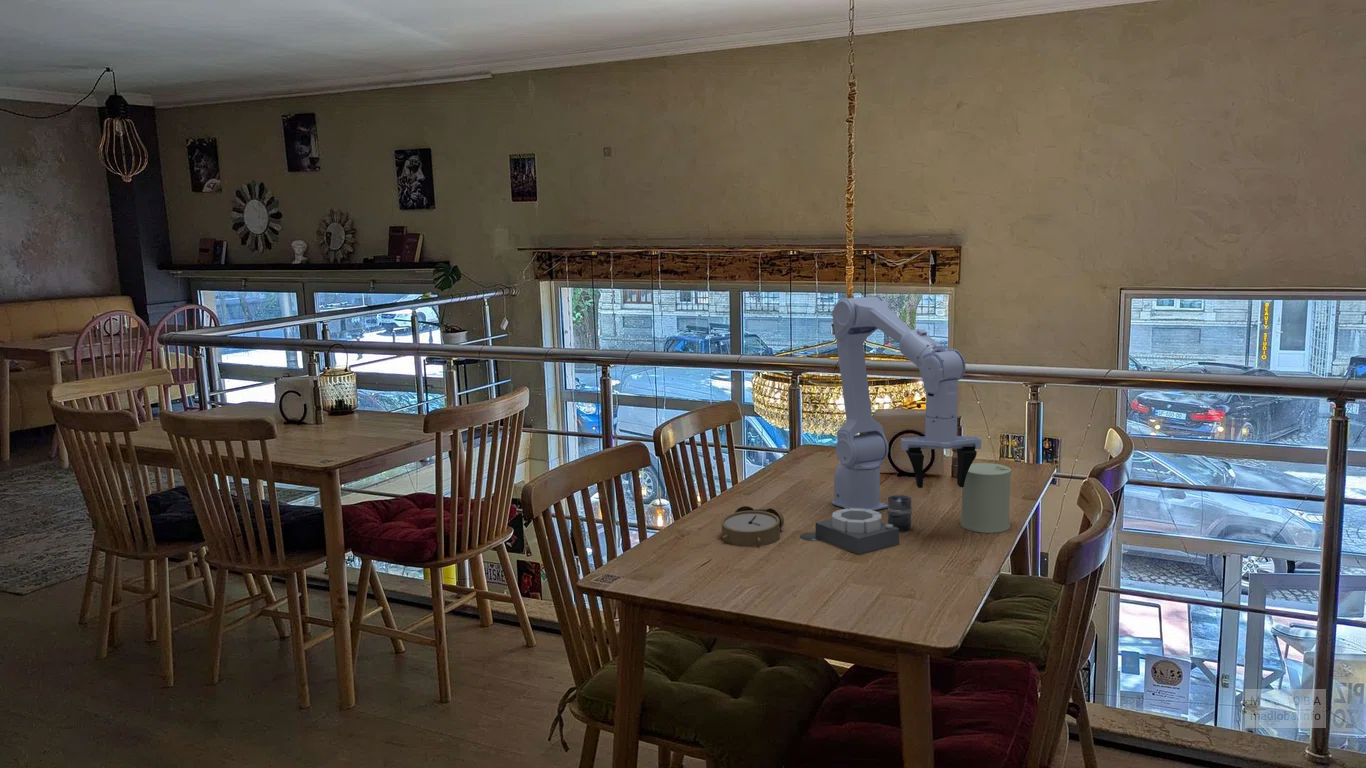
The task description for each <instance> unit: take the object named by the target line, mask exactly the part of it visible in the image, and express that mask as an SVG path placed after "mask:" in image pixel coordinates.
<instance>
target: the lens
mask: <svg viewBox="0 0 1366 768" xmlns="http://www.w3.org/2000/svg"><path fill="white" fill-rule="evenodd" d="M887 499H888V501H887V503H888V504H887V505H888V507H887V524H892V525H893V526H894V527H897V528H899V532H908V531H911V529H912V513H913V512H912V510H913V508H912V497H911V496H908V495H902V494H895V495H890V496H888V498H887Z"/></svg>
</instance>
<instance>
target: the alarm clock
mask: <svg viewBox="0 0 1366 768" xmlns="http://www.w3.org/2000/svg"><path fill="white" fill-rule="evenodd" d="M720 523H721V538H722V541H723V542H726V543H727V542H728V543H727V544H730V543H731V545H733V544H734V546H739V547H741V546H742V547H761V546H766V545H770V544H773V543H775V542H777V541H778V540H779V539H780V536H781V531H780V530H781V529H782V528H783V526H784V524H785V519H784V515H783V513H782V511H780V510H779V509H778V508H776V507H769V508H764V509H763V508H755V509H754V508H753V507H752V506H749V505H741V506H739V507H737V508H736V510H735V511H734V512H732V513H730V514H727V515H726V516H724V517H723V518H722V519H721V521H720Z"/></svg>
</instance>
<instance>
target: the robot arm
mask: <svg viewBox="0 0 1366 768" xmlns="http://www.w3.org/2000/svg"><path fill="white" fill-rule="evenodd" d="M890 306H891V304H890V302H888V301H887V300H885V299H884V297H882V296H881V295H873V296H863V297H851V298H847V297H843V298H840V299H839V300H837V302H836V304H835V305H834V307H833V309H832V310H831V314H832V316H831V317H832V322H833V331H834V337H835V338H834V339H835V340H836V348H837V349H836V350H837V356H838V364H839V372H840V381H841V387H842V397H843V401H844V402H843V404H844V410H845V418H846V419H845V420H846V421H845V422H844V423H843V424H842V426H840V428H838V430H837V431H836V436H837V438H836V446H835V447H836V448H835V453H836V457H837V459H838V461H839V462H840V464H838V465H837V467H836V469H835V471H834V474H833V475H834V476H833V477H834V479H833V481H834V485H833V486H834V487H833V488H834V491H833V492H834V495H833V496H834V497H833V498H834V500H832V501H831V504H832V505H834V506H837V507H840V508H843V509H846V508H847V509H850V508H861V509H866V510H868V509H870V510H873V511H878V510H882V509H886V508H887V509H888V504H887V503H884V502H880V499H881V498H880V497H881V493H880V492H881V491H880V490H881V488H880V487H881V486H880V485H881V484H880V483H881V480H880V479H881V476H880V475H881V470H880V469H881V467H880V466H883V465H884V463H883V461H885V459H886V458H887V457H888V454H889V442H888V440H887V437H886V436H885V433H884V427H883V425H882V424H881V423H879V422H878V421H877V420H875V418H873V413H872V412H873V411H872V404H871V397H870V396H871V395H870V390H869V389H870V388H869V381H868V374H867V366H866V356H865V350H864V343H865V341H866V340H867V338H868V337H870V336H871V335H872V334H873V333H875V332H876V331H877V330H880V332H882V333H884V334H885V335H886V336H888V337H889V338H891V339H892V340H893V341H895V342H897V343H898V344H899V345H898V346H899V347H898V349H899V352H900V353H901V354H902V355H903V356H904V357H906V358H907V359H908V360H909V361H910V362H911V363H912V364H913V365H915V366H916V367H917V368H918V370H919V375H920V377H921V379H922V382H923V389H924V392H925V426H924V427H925V429H924V431H925V432H924V433H925V435H923V436H915V437H901V438H900V448H901V450H902V451H905V452H906V454H907V456H908V458H909V462H910V463H911V466H912V469H913V473H914V477H915V483H916V486H917V488H918V489H923V485H924V478H923V477H924V476H923V471H924V469H923V468H924V459H925V455H924V454H923V450H941V449H942V450H944V449H945V450H948V449H949V450H950V449H951V450H952V449H955V450H956V455H957V472H956V473H957V475H956V482H957V483H956V484H957V486H958V487H959V488H962V487H964V483H965V479H966V476H967V473H968V470H969V468H970V466H971V464H972V463H974V460H975V459H976V457H977V455H978V453H977V452H978V451H977V450H981V449H982V438H981V437H979V436H963V435H958V408H959V407H958V406H959V405H958V403H959V402H958V401H959V400H958V399H959V398H958V397H959V381H960V380H961V379H962V378H963V377H964V375H965V373H966V369H967V368H966V361H965V359H964V356H963V355H962V353H961V352H960V351H959V350H958V349H952V348H951V349H947V348H944V347H943V344H942V343H940V342H939V343H938V342H937V341H935V340H934V339H933V338H932V337H930V336H929V335H928V331H927V330H925V329H923V328H922V329H919V328H915V329H911V328H910V327H909V326H908V325H907V324H906V322H904V321H903V320H902V319H901V318H900V317H899V316H898V315H897V314H896V313H894V311H892V310H891V307H890ZM860 433H862V434H860Z"/></svg>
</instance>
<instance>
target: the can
mask: <svg viewBox="0 0 1366 768" xmlns="http://www.w3.org/2000/svg"><path fill="white" fill-rule="evenodd" d="M1011 474H1012V469H1011V467H1009V466H1006V465H1004V464H999V463H990V462H972V464H971V466H970V468H969V470H968V473H967V476H966V479H965V483H964V487H961V516H960V517H961V519H960V526H961V528H963V529H965V530H968V531H971V532H977V533H982V534H985V533H986V534H995V533H997V534H998V533H1003V532H1006V531H1009V529H1010V528H1011V525H1010V504H1011V503H1010V502H1011V501H1010V500H1011V499H1010V495H1011V493H1010V492H1011Z"/></svg>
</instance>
